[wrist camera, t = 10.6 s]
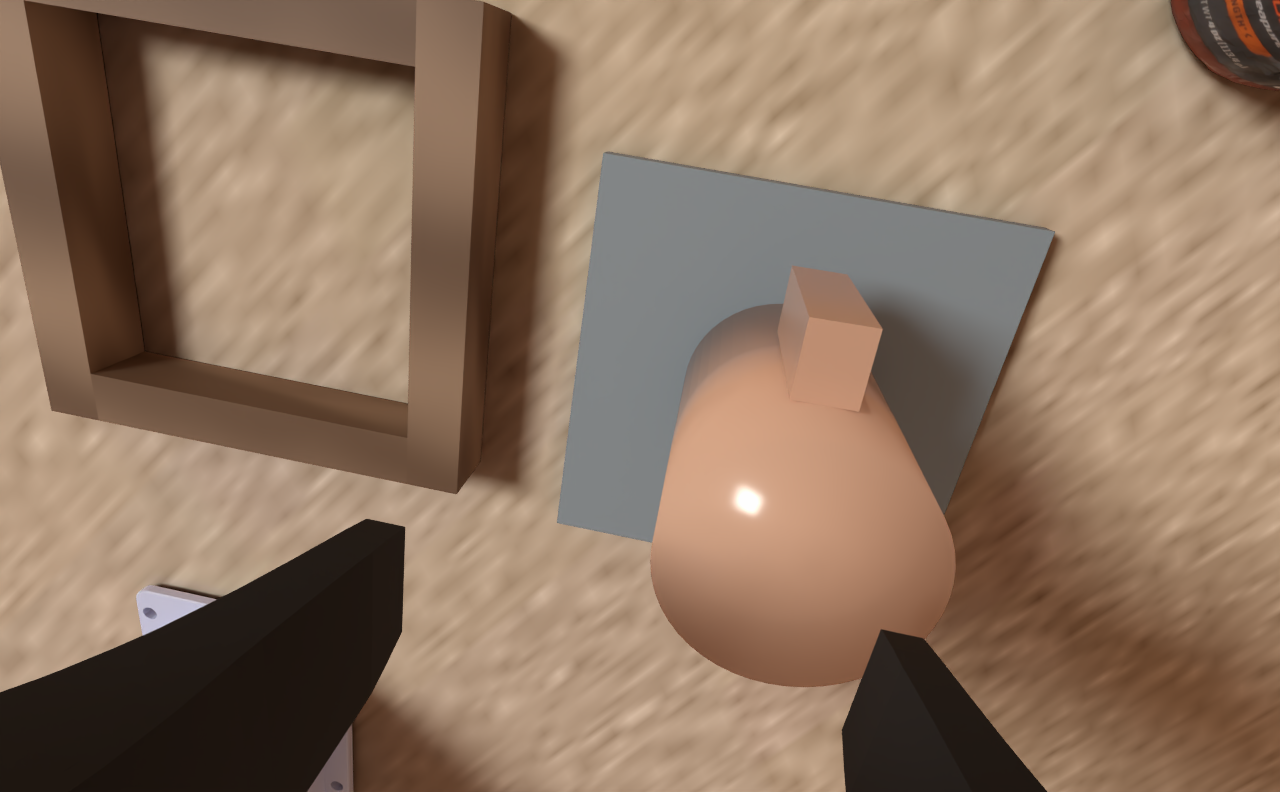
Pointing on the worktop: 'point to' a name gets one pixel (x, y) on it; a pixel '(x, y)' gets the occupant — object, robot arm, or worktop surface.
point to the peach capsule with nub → (796, 497)
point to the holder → (101, 259)
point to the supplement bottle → (1234, 38)
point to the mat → (758, 275)
